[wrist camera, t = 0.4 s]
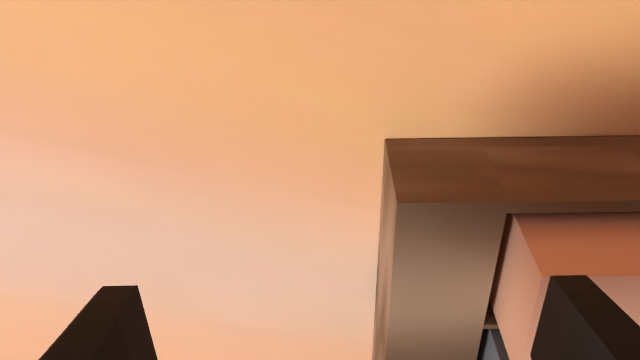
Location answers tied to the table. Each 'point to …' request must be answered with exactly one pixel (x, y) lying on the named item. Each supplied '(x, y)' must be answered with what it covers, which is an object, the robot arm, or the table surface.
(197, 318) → the table surface
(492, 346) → the charcoal key
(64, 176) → the table surface
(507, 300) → the terracotta key
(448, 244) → the key box
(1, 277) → the table surface
